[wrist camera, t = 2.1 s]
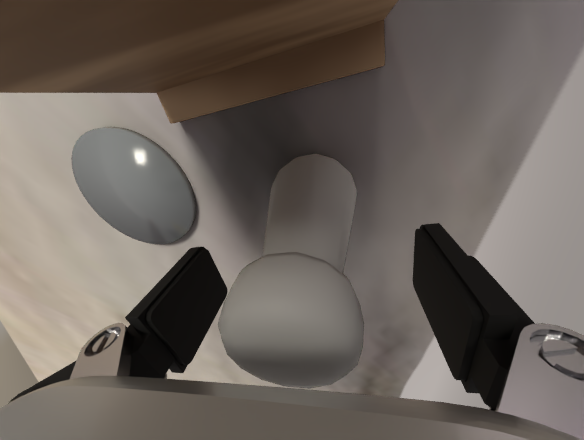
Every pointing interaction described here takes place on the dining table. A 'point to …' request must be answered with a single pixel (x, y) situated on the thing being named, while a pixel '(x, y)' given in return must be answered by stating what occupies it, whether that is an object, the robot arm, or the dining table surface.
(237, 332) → the salt shaker
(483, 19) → the dining table surface
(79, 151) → the coaster
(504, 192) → the dining table surface
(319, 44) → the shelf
